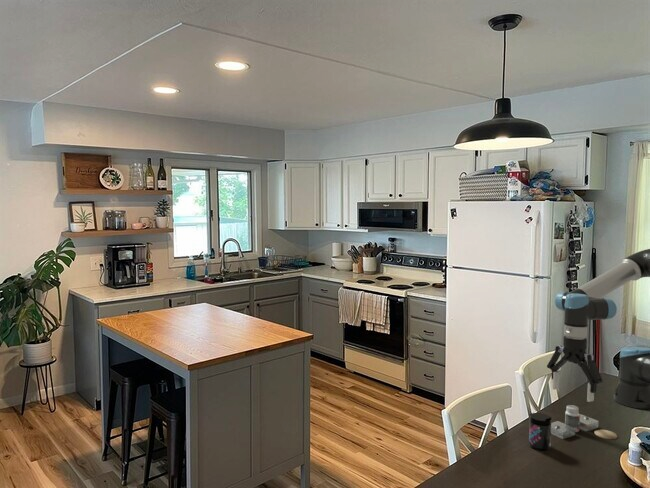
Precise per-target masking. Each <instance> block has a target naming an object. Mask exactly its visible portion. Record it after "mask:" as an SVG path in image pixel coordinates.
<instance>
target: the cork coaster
mask: <svg viewBox="0 0 650 488" xmlns="http://www.w3.org/2000/svg"><path fill="white" fill-rule="evenodd" d="M594 435H596V436H597V437H599V438H600V439H601V438H602V439H604V440H616V439H617V438H618V435H617V434H616V433H615V432H614V431H611V430H607V429H596V430H594Z"/></svg>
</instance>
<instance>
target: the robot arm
mask: <svg viewBox="0 0 650 488" xmlns="http://www.w3.org/2000/svg"><path fill="white" fill-rule="evenodd" d="M642 278H650V248H647V249H643V250H640V251H638V252H635V253H633V254H630V255H629V256H626V257H624V258H623V259H621V260H620V261H619V263H618V264H617V265H616V266H614V267H612V268H611V269H609V270H607V271H605V272H603V273H602V274H600V275H598V276H595V278H593V279H592V280H590V281H588V282H586V283H584V284H582V285H581V286H579V287H577V288H575V289H573V290H571V291H570V292H568V291H560V292H558V293H557V294H556V296H555V297H554V298H555V299H554V304H555V307H556V308H557V309H558V310H560V311H562V312H564V319H563V320H564V325H563V335H564V336H563V340H562V341H563V343H562V345H563V346H562V345H557V346H555V348H554V352H553V354H552V356H551V358H550V360H549V362H547V365H546V367H547V369H550V370H551V380H552V390H558V389H560V379H561V371H560V370H559V369H561V368H562V367H563V366H564V365H565V364H566V363H567V362H569V363H573V364H576V365H578V366H579V367H580V369H581V370H582V372H583V373H584V375H585V376H586V378H587V380H588V381H589V382H588V383H587V390H586V393H587V394H586V397H587V398H586V402H588V403H590V402H594V401H595V393H597V385H598V384H602V383H603V381H604V380H603V378H602V376H601V373H600V370H599V368H598V364H597V363H596V358H595V357H596V356H595V354H594V353H591V354H589V353H587V351H586V350H587V346H588V345H587V344H588V343H587V342H588V340H587V337H588V326H589V321H595V320H596V321H597V320H598V321H599V320H609V319H613V318H614V317H615V316H616V314H617V309H618V308H617V305H616V303H615V301H614V300H613V299H611V298H605V296H606V295H608V294H611V293H612V292H614V291H615V290H617V289H619V288H620V287H622V286H624V285H626V284H627V283H629V282H631V281H638V280H640V279H642ZM562 353H563V356H562V357H561V355H562ZM560 357H561V358H560ZM559 359H560V360H559ZM618 369H619V373H618V375H619V376H618V377H619V378H618V383H617V386H616V387H615V390H614V393H613V401H615V402H616V403H618V404H620V405H622V406H626V407H628V408H629V407H630V408H634V409H640V410H642V409H643V410H650V347H645V346H625V347H623V348H621V349H620V354H619V367H618Z"/></svg>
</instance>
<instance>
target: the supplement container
mask: <svg viewBox="0 0 650 488" xmlns="http://www.w3.org/2000/svg"><path fill="white" fill-rule="evenodd" d="M551 423H552V417H551V415H548V414H545V413H541V412H532V413H530V414H529V425H528V426H529V433H528V436H529V437H528V444H529V446H530V447H531V449H534V450H537V451H538V452H539V451H541V452H546V451H547V452H548V451H549V450H550V449H551V445H552V444H551V443H552V442H551V439H552V437H551V436H552V434H551Z"/></svg>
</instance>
